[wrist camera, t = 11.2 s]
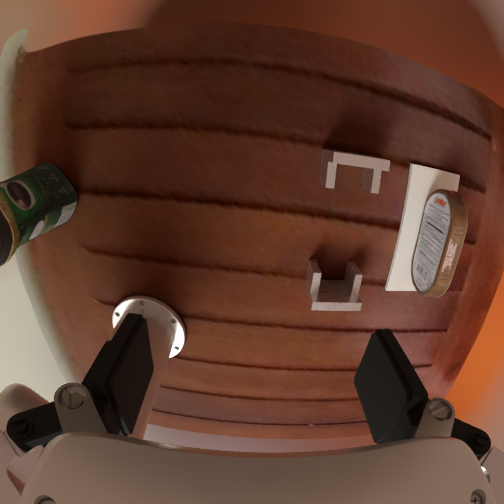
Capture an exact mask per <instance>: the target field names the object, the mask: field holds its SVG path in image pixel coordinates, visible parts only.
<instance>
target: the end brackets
mask: <svg viewBox="0 0 504 504" xmlns="http://www.w3.org/2000/svg"><path fill="white" fill-rule="evenodd" d="M337 164H344V165H351V166H358V167H362V173H361V181H360V187H362V188H364V189H365V190H367V191H369V192H370V193H377V194H378V193H379V186H380V179H381V172H382V170H384V171H389V167H390V161H389V160H386V159H382V158H378V157H374V156H369V155H363V154H357V153H350V152H343V151H336V150H328V149H321V160H320V170H319V180H318V182H319V183H321V184H322V185H323V186H324V187H326V188H334V184H335V176H336V166H337ZM321 274H322V273H321V271H320V268H319V266H318V264H317V261H316V260H311V259H309V261H308V268H307V274H306V281H305V289H306V293H307V296H308V300H309V304H310V307H311V310H330V311H360V309H361V306H362V301H361V300H360V298H359V296H358V292H359V288H360V284H361V280H362V276H363V274H362V273H361V271H360V270H359V269H358V267H357V266H356V264H355V263H354V262H349V261H347V266H346V271H345V275H344V280H320V279H321Z"/></svg>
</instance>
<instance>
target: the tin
mask: <svg viewBox="0 0 504 504" xmlns="http://www.w3.org/2000/svg"><path fill="white" fill-rule="evenodd" d="M467 225H468V213H467V207H466V204H465V201H464V199H463V197H462V196H461V195H460V194H459V193H458V192H456V191H453V190H451V191H450V190H446V189H437V190H435V191H433V192H432V193H431V194H430V196H429V197H428V199H427V201H426V203H425V206H424V210H423V215H422V220H421V224H420V228H419V233H418V237H417V241H416V245H415V249H414V253H413V257H412V263H411V277H412V282H413V285H414V287H415V289H416V291H417V292H418V293H419V294H420V295H421V296H425V297H434V298H438V297H441V296H442V295H443V294H444V293H445V292H446V291H447V289H448V288H449V286H450V283H451V280H452V277H453V274H454V271H455V268H456V265H457V262H458V259H459V256H460V252H461V249H462V246H463V242H464V238H465V235H466V231H467Z"/></svg>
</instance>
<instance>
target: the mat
mask: <svg viewBox="0 0 504 504" xmlns="http://www.w3.org/2000/svg"><path fill="white" fill-rule="evenodd" d="M459 178H460V175H457V174H453V173H450V172H446V171H442V170H438V169H434V168H429V167H425V166H421V165H416V164H410V172H409V179H408V186H407V192H406V198H405V204H404V209H403V215H402V220H401V225H400V230H399V234H398V239H397V243H396V248H395V252H394V256H393V260H392V264H391V268H390V272H389V276H388V279H387V283H386V287H385V289H386V291H416V289H415V287H414V285H413V282H412V277H411V263H412V257H413V253H414V249H415V245H416V241H417V237H418V233H419V228H420V224H421V220H422V215H423V210H424V206H425V203H426V201H427V199H428V197H429V196H430V194H431V193H432V192H433V191H435V190H437V189H446V190H450V191H451V190H453V191H456V192H457V190H458V185H459Z"/></svg>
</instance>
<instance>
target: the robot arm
mask: <svg viewBox="0 0 504 504" xmlns="http://www.w3.org/2000/svg"><path fill="white" fill-rule="evenodd" d="M112 324H113V328H114V329H113V331H112V333H111V334H110V336H109V337H108V339H107V341H106V342H105V344H104V346H103V347H102V349H101V351H100V352H99V354H98V356H97V357H96V359H95V361H94V362H93V364H92V366H91V368H90V369H89V371H88V373H87V375H86V376H85V378H84V380H83V382H82V383H81V384H79V383H67V384H64V385H62V386H61V387H59V388H58V389H57V391H56V392H55V395H54V402H51V403H49V402H48V401H47V400H45V399H44V398H43V397H41V396H40V395H39V394H37V393H36V392H35V391H33V390H32V389H30V388H28V387H27V386H25V385H22V384H17V383H15V384H11V385H9V386H7V387H6V388H5V389H4V390H3V391H2V392H1V393H0V504H504V453H503V452H502V451H500V450H499V449H498V448H497V447H495V446H493V447H491V441H490V438H489V436H488V434H487V433H486V432H484V431H483V430H481V429H478V428H476V427H474V426H471V425H469V424H467V423H465V422H462V421H461V420H458V419H456V418H455V410H454V407H453V406H452V404H450V403H449V402H448V401H447V400H445V399H442V398H433V399H430V400H429V398H428V393H427V391H426V389H425V387H424V386H423V384H422V382H421V380H420V379H419V377H418V375H417V373H416V372H415V370H414V368H413V366H412V365H411V363H410V361H409V360H408V358H407V356H406V354H405V353H404V351H403V349H402V348H401V346H400V344H399V343H398V341H397V340H396V338H395V336H394V335H393V333H392V331H391V330H390V329H378V330H376V331H375V333H373V334H372V335H371V338H370V340H369V343H368V345H367V348H366V351H365V353H364V356H363V358H362V360H361V363H360V365H359V368H358V370H357V372H356V375H355V377H354V384H355V387H356V390H357V393H358V396H359V399H360V401H361V404H362V407H363V410H364V413H365V416H366V419H367V422H368V425H369V428H370V431H371V434H372V437H373V440H374V442H375V443H377V445H370V446H363V447H357V448H348V449H339V450H328V451H314V452H293V453H255V452H234V451H219V450H209V449H200V448H192V447H184V446H177V445H171V444H165V443H159V442H153V441H147V440H143V439H144V435H145V431H146V427H147V424H148V421H149V417H150V414H151V411H152V408H153V404H154V401H155V398H156V395H157V392H158V389H159V386H160V383H161V380H162V377H163V374H164V371H165V368H166V365H167V362H168V359H169V358H171V357H173V356H175V355H177V354H178V353H179V352H180V351H181V349H182V348H183V345H184V342H185V338H186V332H185V327H184V324H183V322H182V320H181V319H180V317H179V316H178V315H177V313H176V312H175V311H174V310H173V309H172V308H170V307H169V306H168V305H166V304H165V303H163V302H161V301H159V300H157V299H155V298H152V297H148V296H131V297H128V298H126V299H124V300H122V301H121V302H120V303H119V304H118V305H117V307H116V308H115V310H114V312H113V317H112Z"/></svg>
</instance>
